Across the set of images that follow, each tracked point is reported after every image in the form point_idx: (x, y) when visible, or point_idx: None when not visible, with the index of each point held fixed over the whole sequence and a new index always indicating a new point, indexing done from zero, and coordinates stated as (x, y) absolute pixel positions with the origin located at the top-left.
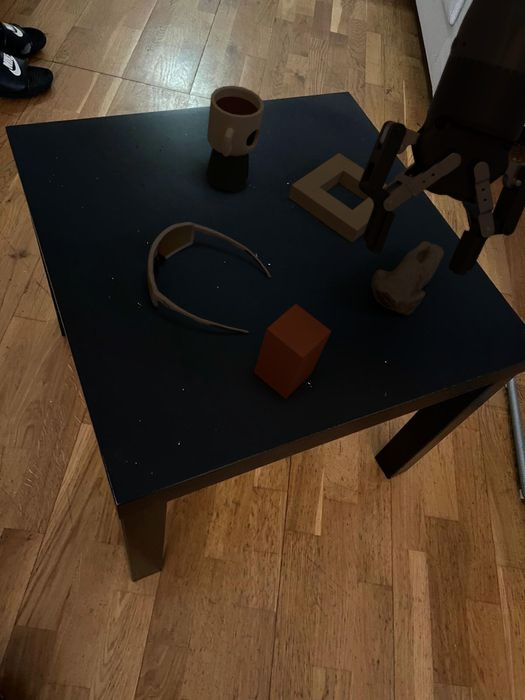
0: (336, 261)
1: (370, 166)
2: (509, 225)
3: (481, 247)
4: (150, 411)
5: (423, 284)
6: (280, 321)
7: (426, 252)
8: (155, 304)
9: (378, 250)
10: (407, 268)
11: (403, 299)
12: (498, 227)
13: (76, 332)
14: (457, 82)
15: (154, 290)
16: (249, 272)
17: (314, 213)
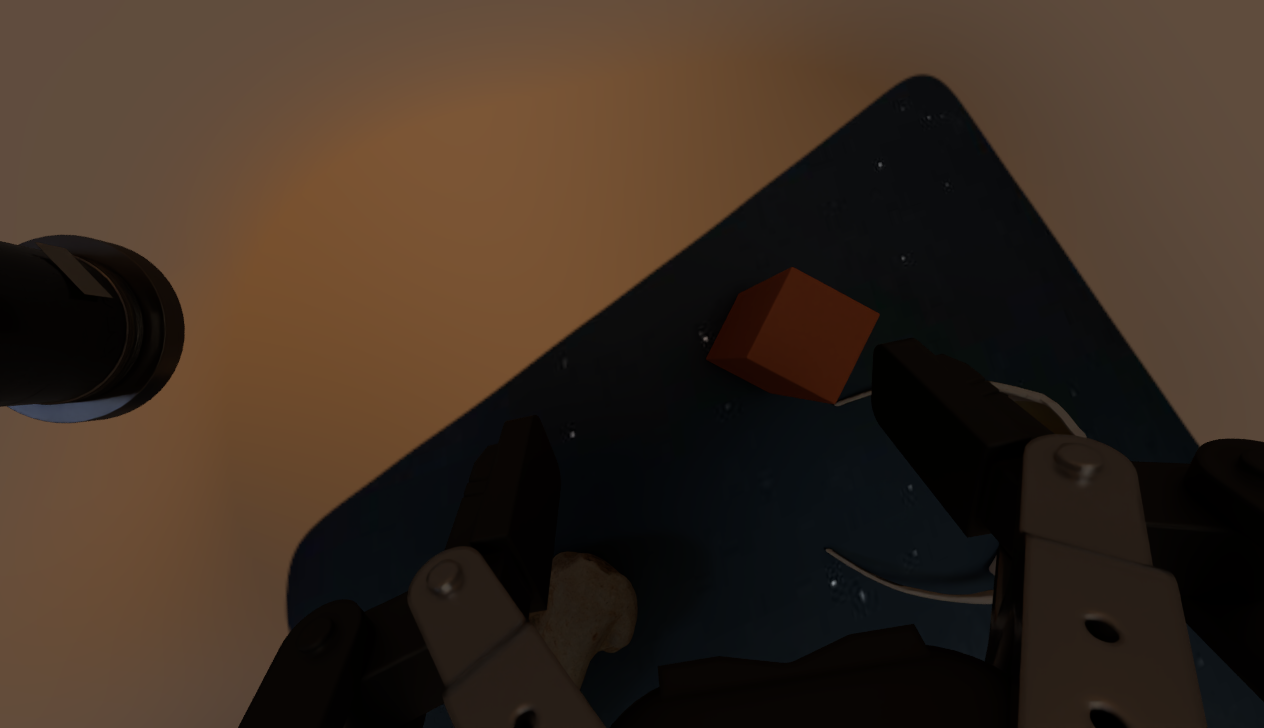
0: (704, 650)
1: None
2: (314, 657)
3: (459, 525)
4: (938, 204)
5: None
6: (857, 342)
7: None
8: (1010, 395)
9: (894, 343)
10: (566, 669)
11: (567, 571)
12: (382, 637)
13: (1093, 306)
14: None
15: (1047, 398)
16: (864, 546)
17: None
